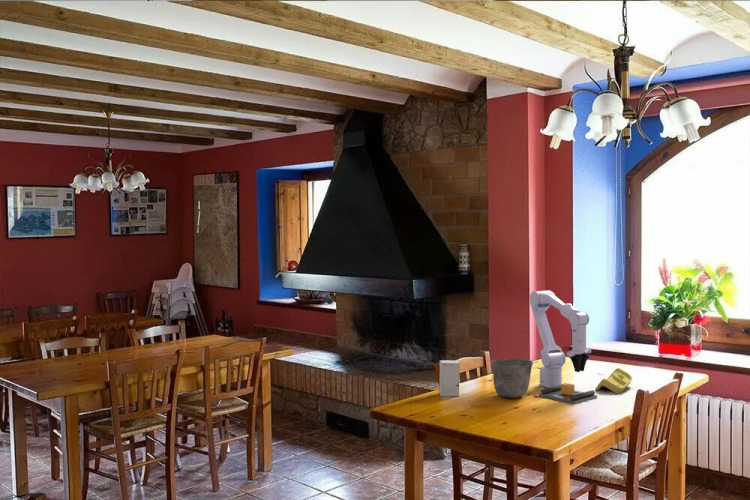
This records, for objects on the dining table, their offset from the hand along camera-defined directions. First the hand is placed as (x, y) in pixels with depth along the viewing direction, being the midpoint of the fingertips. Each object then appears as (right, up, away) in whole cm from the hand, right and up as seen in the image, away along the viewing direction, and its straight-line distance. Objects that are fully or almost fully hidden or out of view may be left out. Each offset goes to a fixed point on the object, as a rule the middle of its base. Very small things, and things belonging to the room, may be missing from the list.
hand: (579, 371), depth 300 cm
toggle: (-6, -9, -5) cm, 12 cm away
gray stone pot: (-29, -11, -2) cm, 31 cm away
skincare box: (-56, -11, +1) cm, 57 cm away
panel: (-6, -10, -5) cm, 13 cm away
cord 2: (-2, -9, -11) cm, 14 cm away
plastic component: (+19, -10, +10) cm, 24 cm away
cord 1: (-11, -9, +1) cm, 14 cm away
